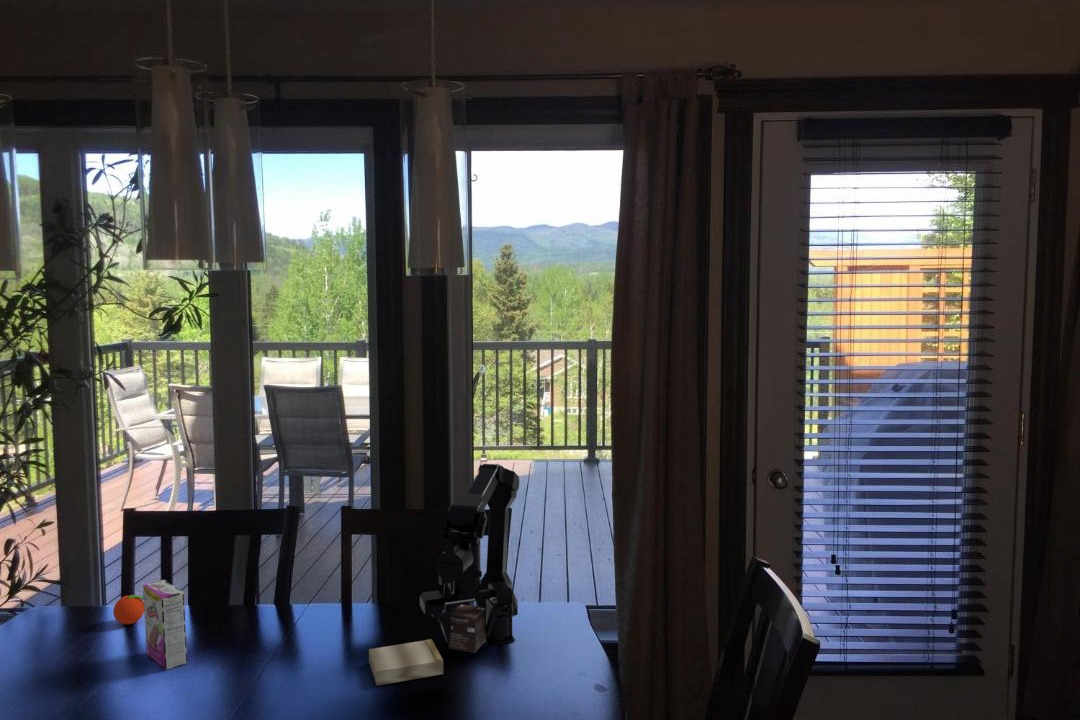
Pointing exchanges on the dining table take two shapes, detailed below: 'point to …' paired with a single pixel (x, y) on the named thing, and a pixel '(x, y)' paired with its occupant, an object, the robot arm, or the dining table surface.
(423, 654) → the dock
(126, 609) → the clementine
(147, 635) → the candy bar box
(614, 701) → the dining table surface
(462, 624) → the box
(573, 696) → the dining table surface
